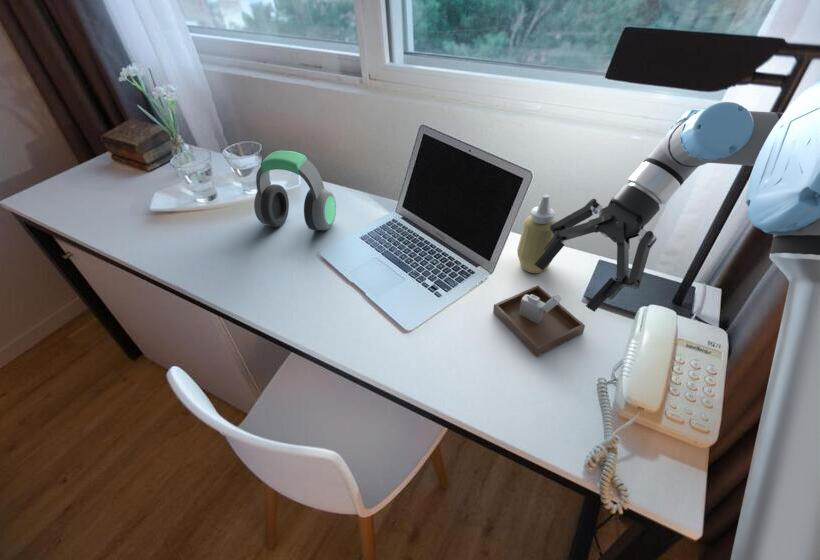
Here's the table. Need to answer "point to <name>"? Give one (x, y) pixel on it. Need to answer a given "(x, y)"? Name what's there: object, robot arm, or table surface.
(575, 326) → the tray
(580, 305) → the table surface
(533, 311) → the lighter
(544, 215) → the squeeze bottle
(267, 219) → the headphones
